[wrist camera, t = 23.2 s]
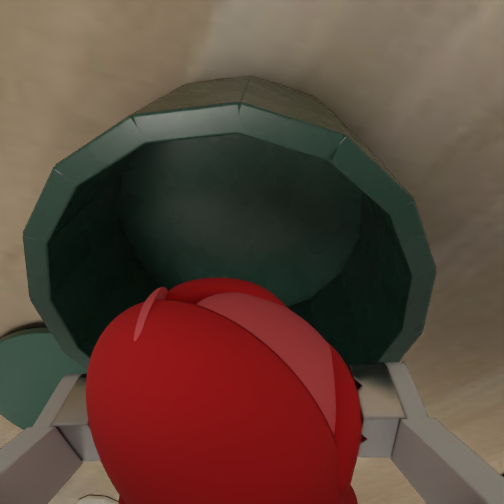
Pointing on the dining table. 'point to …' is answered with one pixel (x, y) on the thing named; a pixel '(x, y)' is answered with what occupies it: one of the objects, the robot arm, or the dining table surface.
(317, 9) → the dining table surface
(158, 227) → the pot
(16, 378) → the lid
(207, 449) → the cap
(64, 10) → the dining table surface
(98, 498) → the salt shaker
